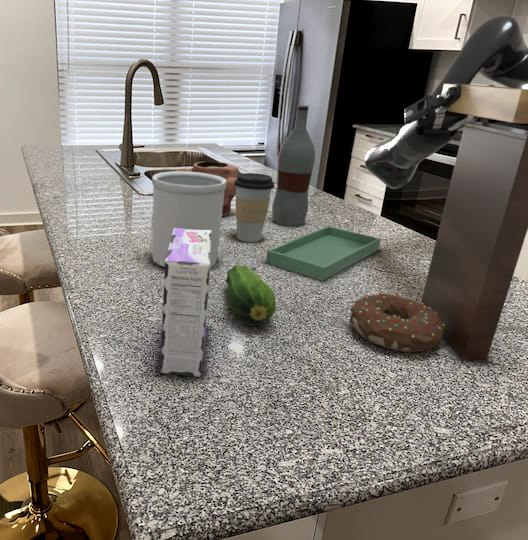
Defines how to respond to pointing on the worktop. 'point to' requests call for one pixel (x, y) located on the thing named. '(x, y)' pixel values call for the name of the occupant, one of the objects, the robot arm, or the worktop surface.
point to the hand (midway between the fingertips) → (475, 90)
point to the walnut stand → (479, 236)
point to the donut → (396, 322)
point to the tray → (323, 252)
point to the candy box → (185, 301)
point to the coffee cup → (252, 204)
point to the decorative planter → (223, 171)
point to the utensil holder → (186, 208)
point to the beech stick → (492, 102)
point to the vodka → (294, 174)
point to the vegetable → (249, 296)
